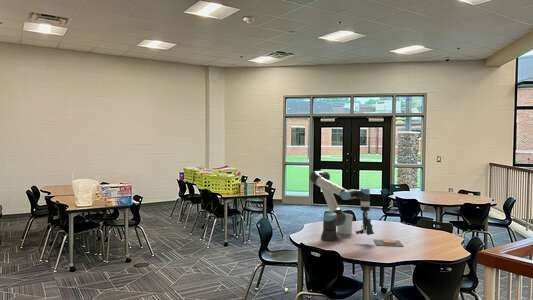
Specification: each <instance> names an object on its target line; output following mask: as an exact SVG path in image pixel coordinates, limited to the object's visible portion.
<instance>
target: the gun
mask: <svg viewBox="0 0 533 300" xmlns="http://www.w3.org/2000/svg"><path fill="white" fill-rule="evenodd" d="M371 221H372V219H371V218H367V234H366V235H367V236H369V235H373V234H375V232H374V230H373V225H372V224H371V223H372V222H371ZM363 224H364V220H363V219H362V225H361V227H360V228H361V229H360V230H356V231H355V234H356V235H359V234H360V235H363V234H364V233H363Z"/></svg>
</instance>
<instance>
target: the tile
mask: <svg viewBox="0 0 533 300" xmlns="http://www.w3.org/2000/svg"><path fill="white" fill-rule="evenodd" d="M381 240H382V241H383V243H384V244H396V242H395V240H396V239H390V238H389V239H388V238H387V239H385V238H382V239H381Z"/></svg>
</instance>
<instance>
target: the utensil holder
mask: <svg viewBox="0 0 533 300" xmlns="http://www.w3.org/2000/svg"><path fill="white" fill-rule="evenodd" d="M345 214H346V216H347V220H346V222H345V223H344V224H342V225H339V226H336V232H337V234H339V235H351V234H352V233H353V232H352V230H353V217H354V216H353V214H350V213H345Z"/></svg>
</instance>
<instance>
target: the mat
mask: <svg viewBox="0 0 533 300" xmlns="http://www.w3.org/2000/svg"><path fill="white" fill-rule="evenodd" d="M394 240H395V242H396V244H384V243H383V241H382V239H375V238H374V239H373V242H374V244H375V245H376V246H379V247H381V246H382V247H396V248H397V247H401V248H404V244H402V242H401V241H400V240H396V239H394Z"/></svg>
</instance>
